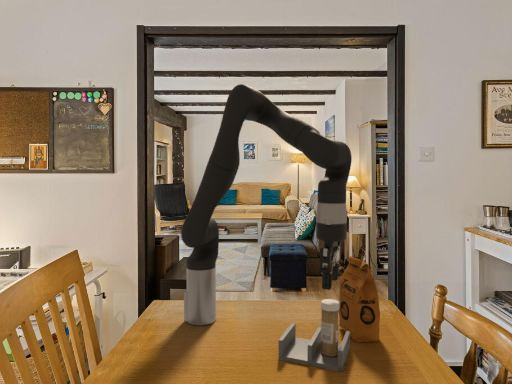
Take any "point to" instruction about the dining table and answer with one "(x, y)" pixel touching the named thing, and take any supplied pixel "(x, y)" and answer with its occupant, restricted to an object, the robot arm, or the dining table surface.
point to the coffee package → (359, 302)
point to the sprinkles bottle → (329, 327)
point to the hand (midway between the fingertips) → (330, 284)
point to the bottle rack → (312, 350)
